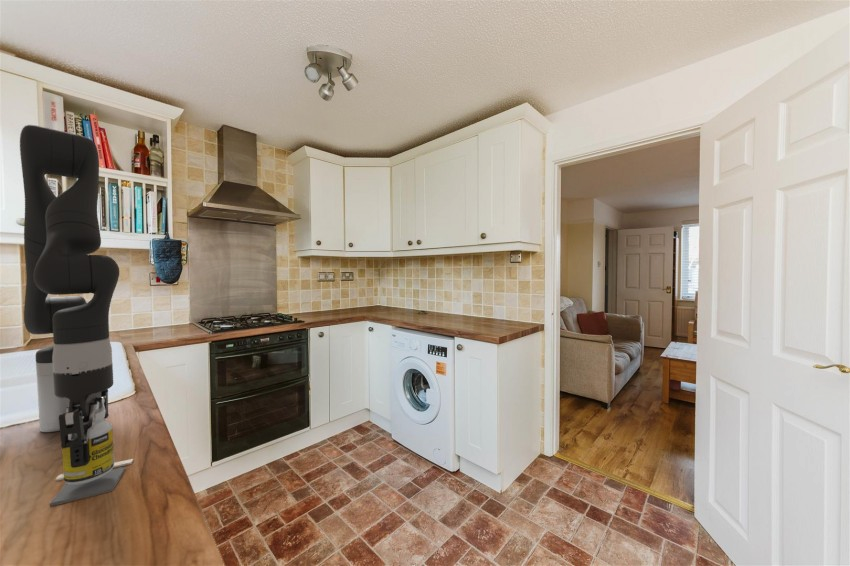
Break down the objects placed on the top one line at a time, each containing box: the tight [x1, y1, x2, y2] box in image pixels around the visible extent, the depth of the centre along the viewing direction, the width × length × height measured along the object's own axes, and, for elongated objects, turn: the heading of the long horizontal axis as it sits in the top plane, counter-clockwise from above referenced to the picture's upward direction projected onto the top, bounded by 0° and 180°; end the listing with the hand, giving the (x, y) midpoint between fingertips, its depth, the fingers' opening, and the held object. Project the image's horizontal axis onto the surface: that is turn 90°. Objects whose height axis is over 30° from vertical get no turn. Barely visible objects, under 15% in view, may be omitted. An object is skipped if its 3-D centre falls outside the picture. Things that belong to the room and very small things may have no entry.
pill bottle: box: [61, 408, 115, 485], centre depth 61 cm, size 6×6×12 cm
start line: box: [54, 458, 134, 482], centre depth 67 cm, size 2×11×1 cm, turn 119°
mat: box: [49, 466, 126, 507], centre depth 62 cm, size 8×8×1 cm
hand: (88, 455), depth 61 cm, fingers closed on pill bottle, 6 cm apart
